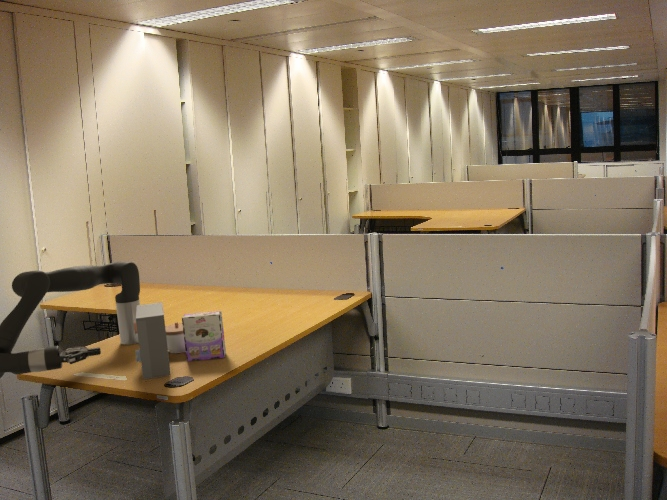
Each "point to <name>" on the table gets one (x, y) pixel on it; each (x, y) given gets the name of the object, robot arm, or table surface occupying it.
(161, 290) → the table surface
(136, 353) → the slate blue button
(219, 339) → the candy box
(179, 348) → the lidded container
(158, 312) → the console panel
